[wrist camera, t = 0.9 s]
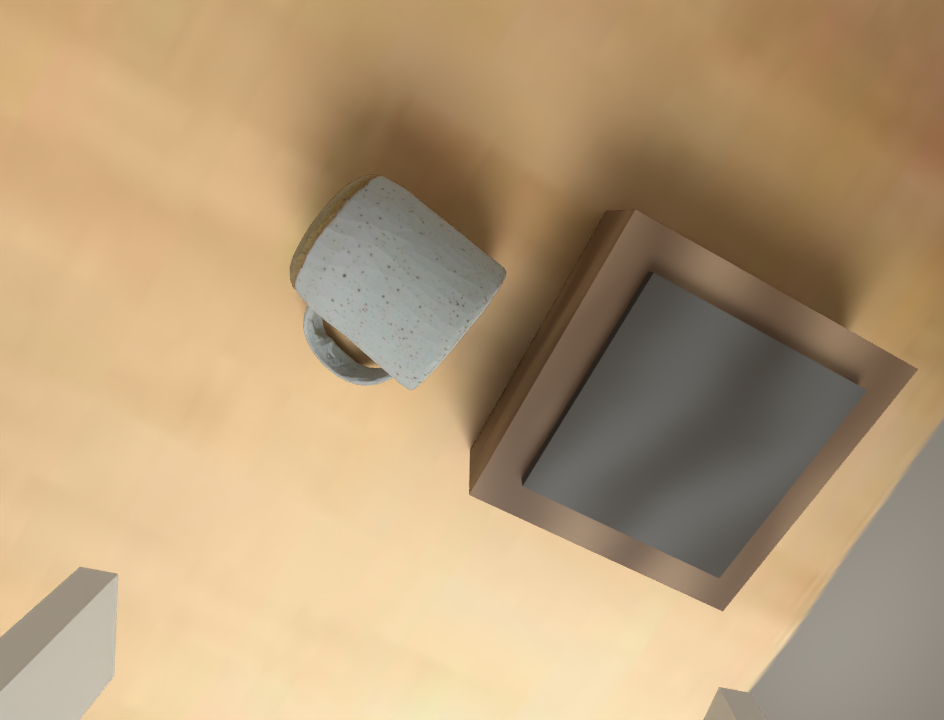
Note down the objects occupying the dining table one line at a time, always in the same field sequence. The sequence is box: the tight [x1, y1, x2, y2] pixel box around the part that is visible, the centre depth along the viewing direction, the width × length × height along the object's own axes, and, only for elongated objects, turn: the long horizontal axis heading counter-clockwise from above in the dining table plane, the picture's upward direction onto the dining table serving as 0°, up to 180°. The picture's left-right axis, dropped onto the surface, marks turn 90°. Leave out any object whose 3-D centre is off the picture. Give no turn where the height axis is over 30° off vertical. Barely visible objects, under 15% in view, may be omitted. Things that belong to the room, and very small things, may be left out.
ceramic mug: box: [290, 175, 506, 390], centre depth 24 cm, size 11×8×8 cm
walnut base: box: [469, 209, 918, 611], centre depth 27 cm, size 16×16×6 cm
